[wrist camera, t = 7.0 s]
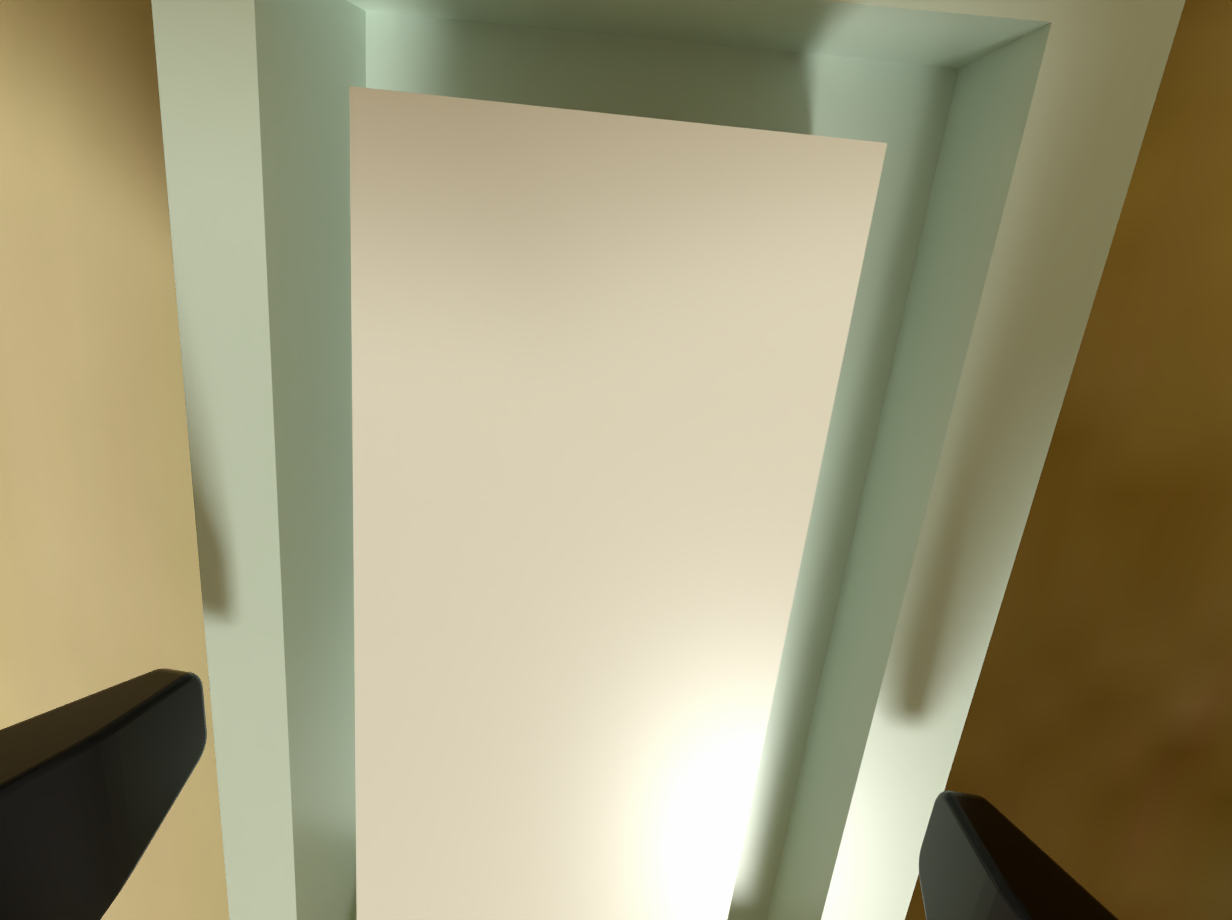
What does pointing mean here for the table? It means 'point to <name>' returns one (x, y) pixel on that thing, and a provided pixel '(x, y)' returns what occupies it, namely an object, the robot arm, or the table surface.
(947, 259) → the trough
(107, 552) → the table surface
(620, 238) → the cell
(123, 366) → the table surface
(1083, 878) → the table surface
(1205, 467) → the table surface
